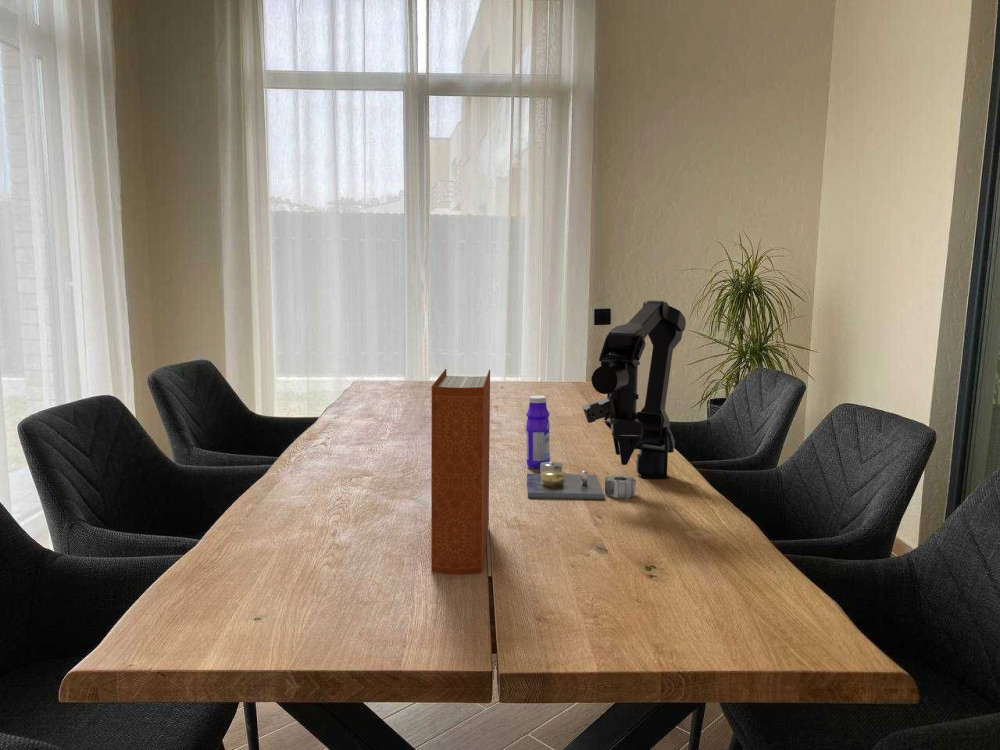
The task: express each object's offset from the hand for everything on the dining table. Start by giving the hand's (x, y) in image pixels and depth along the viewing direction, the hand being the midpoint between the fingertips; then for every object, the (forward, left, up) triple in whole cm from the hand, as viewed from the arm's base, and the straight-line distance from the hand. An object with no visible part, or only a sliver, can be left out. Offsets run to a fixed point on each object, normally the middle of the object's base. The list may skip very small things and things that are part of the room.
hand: (621, 459), depth 172 cm
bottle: (+17, -24, -8) cm, 30 cm away
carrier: (+12, -4, -8) cm, 15 cm away
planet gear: (0, 0, -8) cm, 8 cm away
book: (+32, +36, -8) cm, 49 cm away
